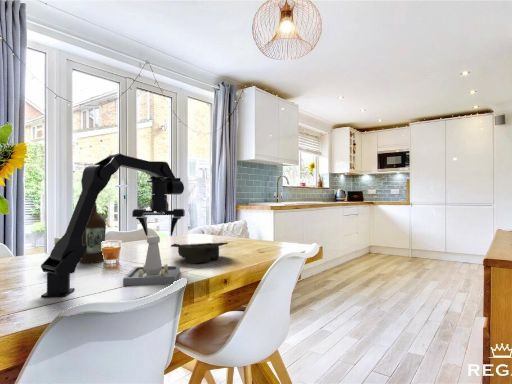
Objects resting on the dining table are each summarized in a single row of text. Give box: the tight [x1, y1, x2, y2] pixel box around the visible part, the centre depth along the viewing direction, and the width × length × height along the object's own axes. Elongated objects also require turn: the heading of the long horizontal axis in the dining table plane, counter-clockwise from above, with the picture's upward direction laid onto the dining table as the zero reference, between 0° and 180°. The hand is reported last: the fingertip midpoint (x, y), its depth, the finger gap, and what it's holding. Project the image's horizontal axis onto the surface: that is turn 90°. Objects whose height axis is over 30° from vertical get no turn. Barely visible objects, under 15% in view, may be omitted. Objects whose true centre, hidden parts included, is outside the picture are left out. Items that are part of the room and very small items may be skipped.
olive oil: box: [79, 202, 107, 265], centre depth 139 cm, size 11×11×25 cm
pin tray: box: [122, 263, 181, 286], centre depth 112 cm, size 16×16×4 cm
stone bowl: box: [170, 242, 229, 265], centre depth 144 cm, size 25×25×9 cm
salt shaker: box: [144, 235, 163, 275], centre depth 112 cm, size 6×6×13 cm
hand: (159, 235), depth 125 cm, fingers open, 9 cm apart
